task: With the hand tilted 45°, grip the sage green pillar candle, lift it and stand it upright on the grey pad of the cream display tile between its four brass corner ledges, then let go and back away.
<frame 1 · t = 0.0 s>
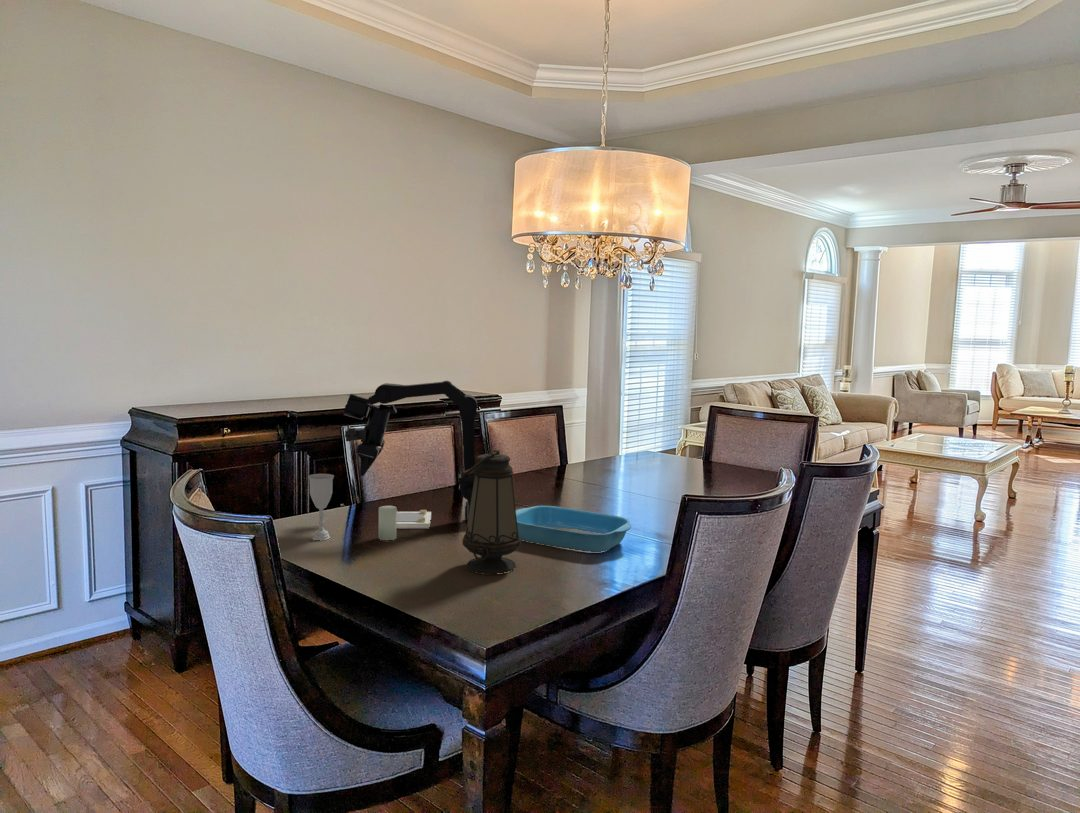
hand: (364, 472, 223), 15 cm above the table, tool pointing down, fingers open, 9 cm apart
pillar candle: (387, 538, 208), on the table
lantern: (491, 567, 187), on the table
display tile: (407, 522, 226), on the table
casserole dish: (568, 542, 211), on the table
chalice: (321, 539, 206), on the table
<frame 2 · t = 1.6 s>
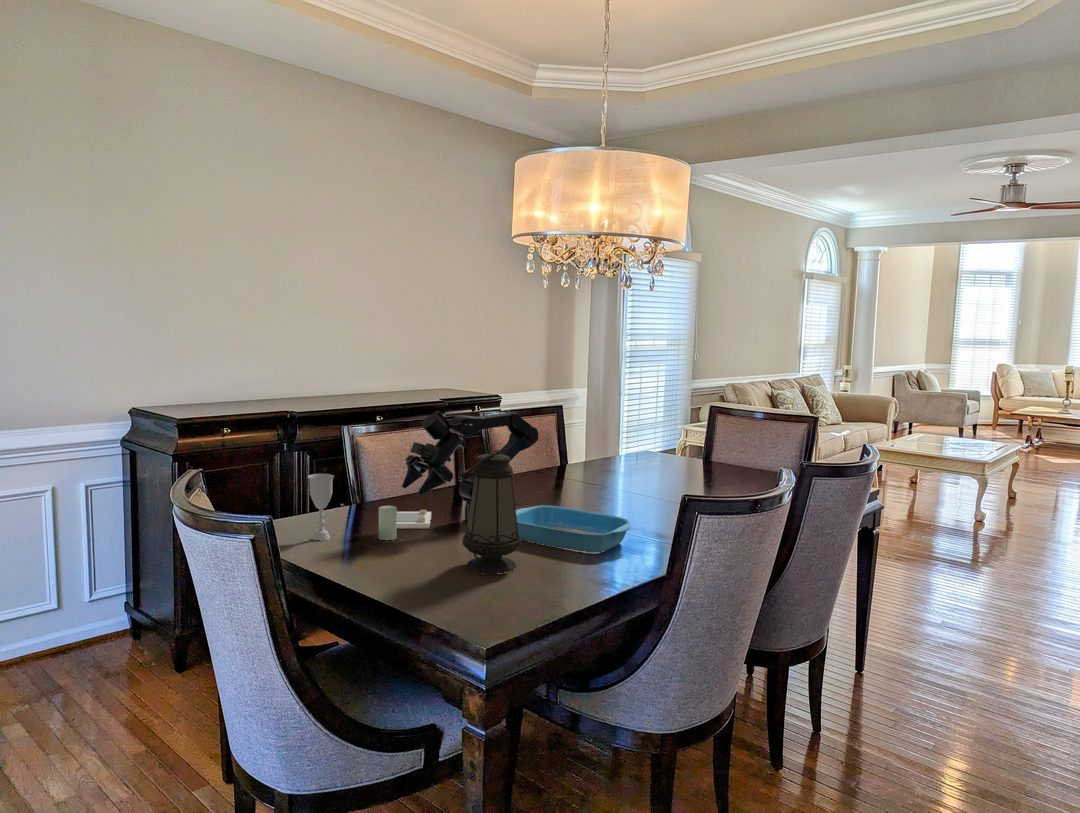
hand: (411, 490, 212), 13 cm above the table, tool tilted 45°, fingers open, 9 cm apart
nothing on the table moved.
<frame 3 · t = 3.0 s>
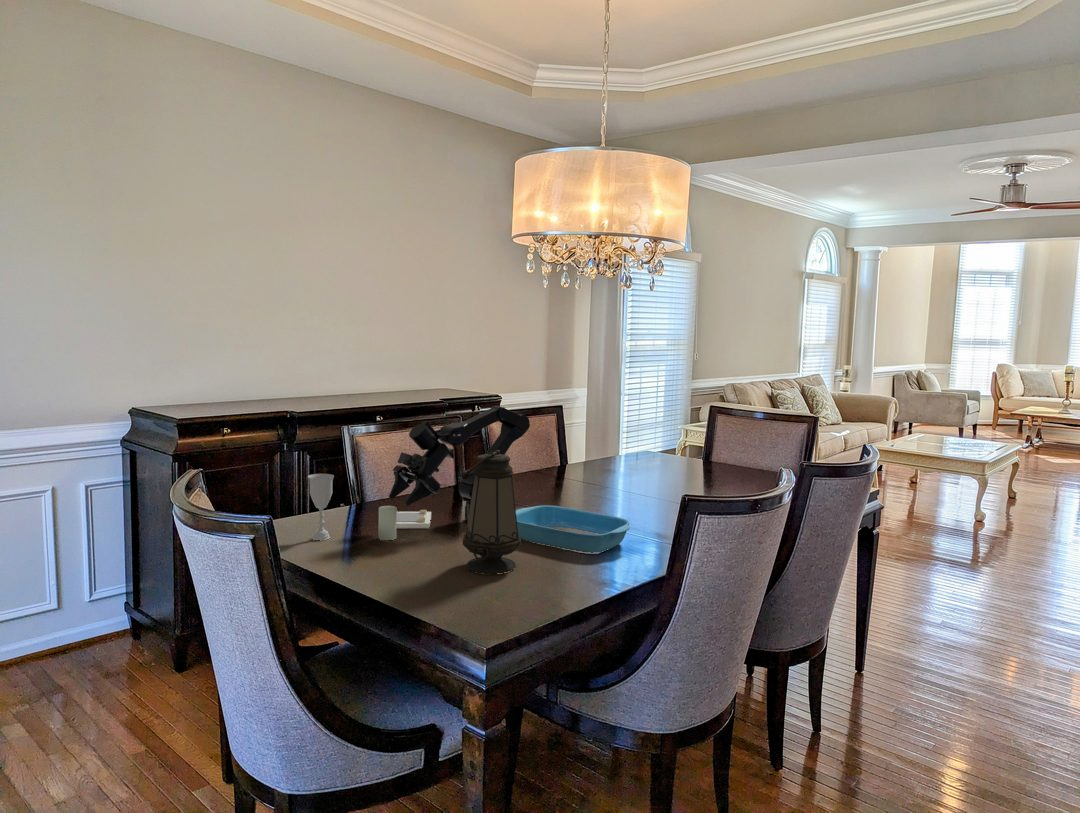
hand: (397, 501, 209), 10 cm above the table, tool tilted 45°, fingers open, 9 cm apart
nothing on the table moved.
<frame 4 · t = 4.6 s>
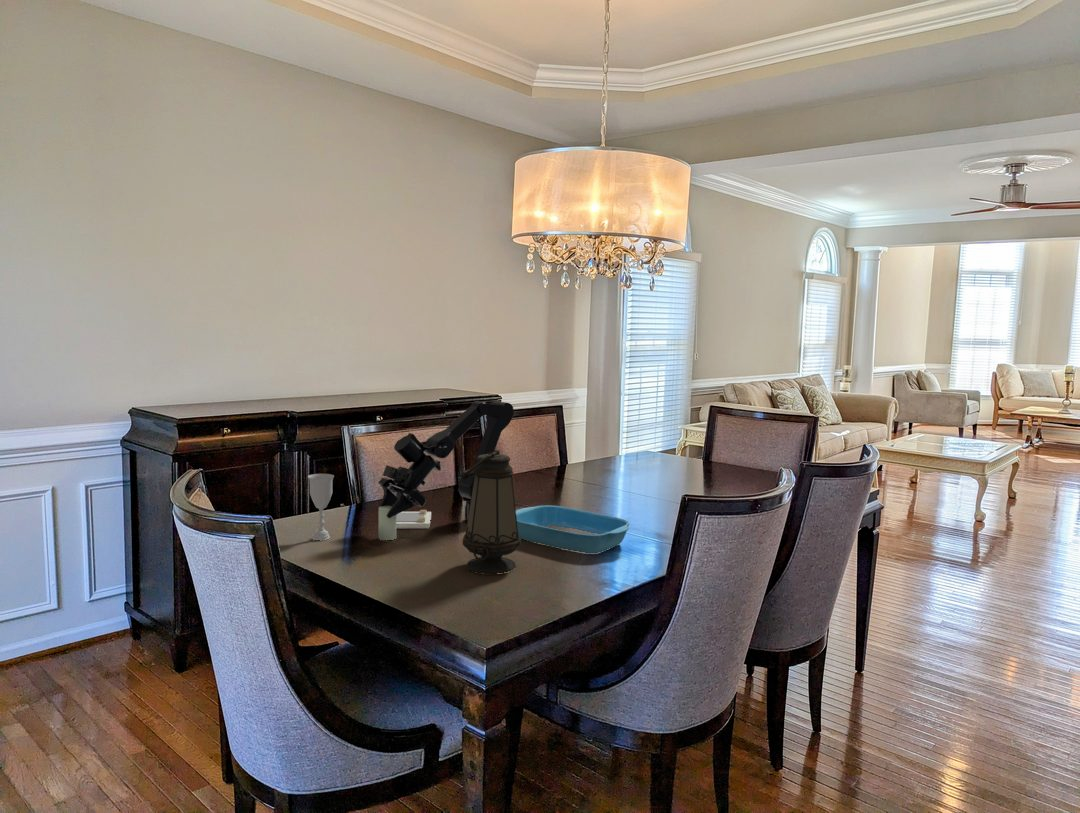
hand: (383, 515, 206), 7 cm above the table, tool tilted 45°, fingers closed on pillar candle, 5 cm apart
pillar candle: (387, 538, 208), on the table, touching gripper
everything else where it was.
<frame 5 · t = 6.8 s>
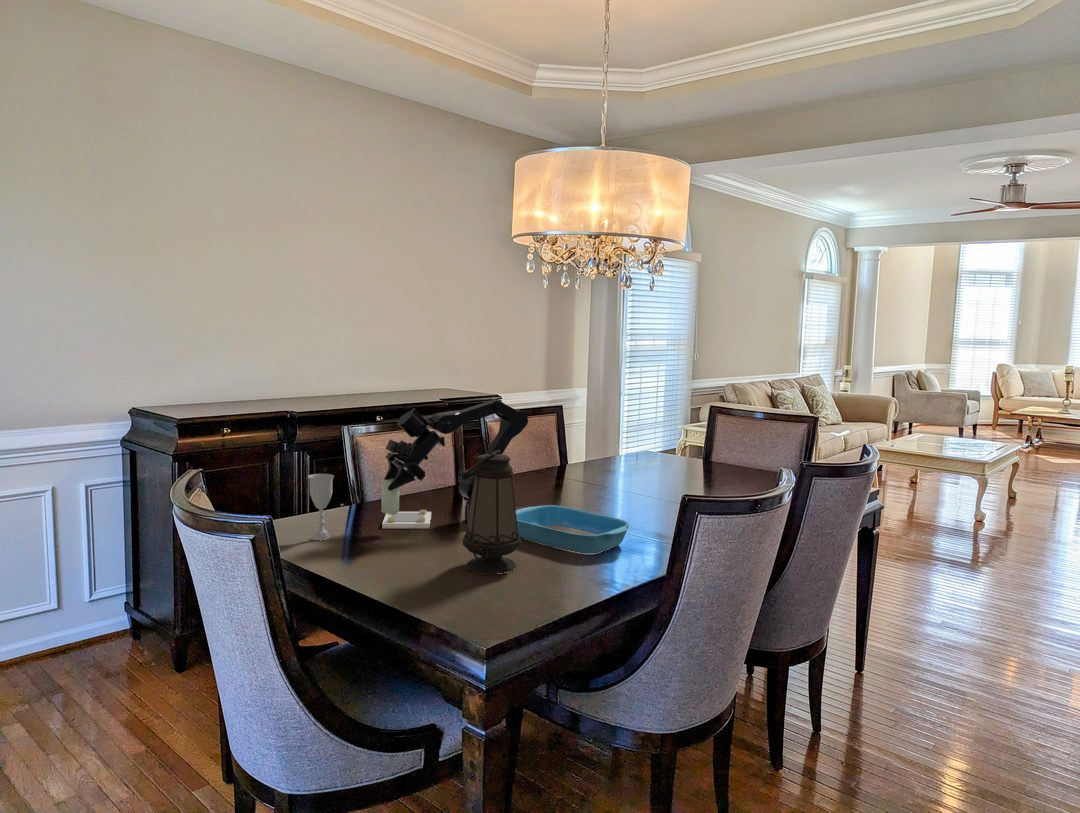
hand: (385, 487, 211), 14 cm above the table, tool tilted 45°, fingers closed on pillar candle, 5 cm apart
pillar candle: (390, 511, 213), point 7 cm above the table, touching gripper
when the fingers open (9 cm above the table, at t = 9.3 s): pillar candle stays where it is, resting on display tile.
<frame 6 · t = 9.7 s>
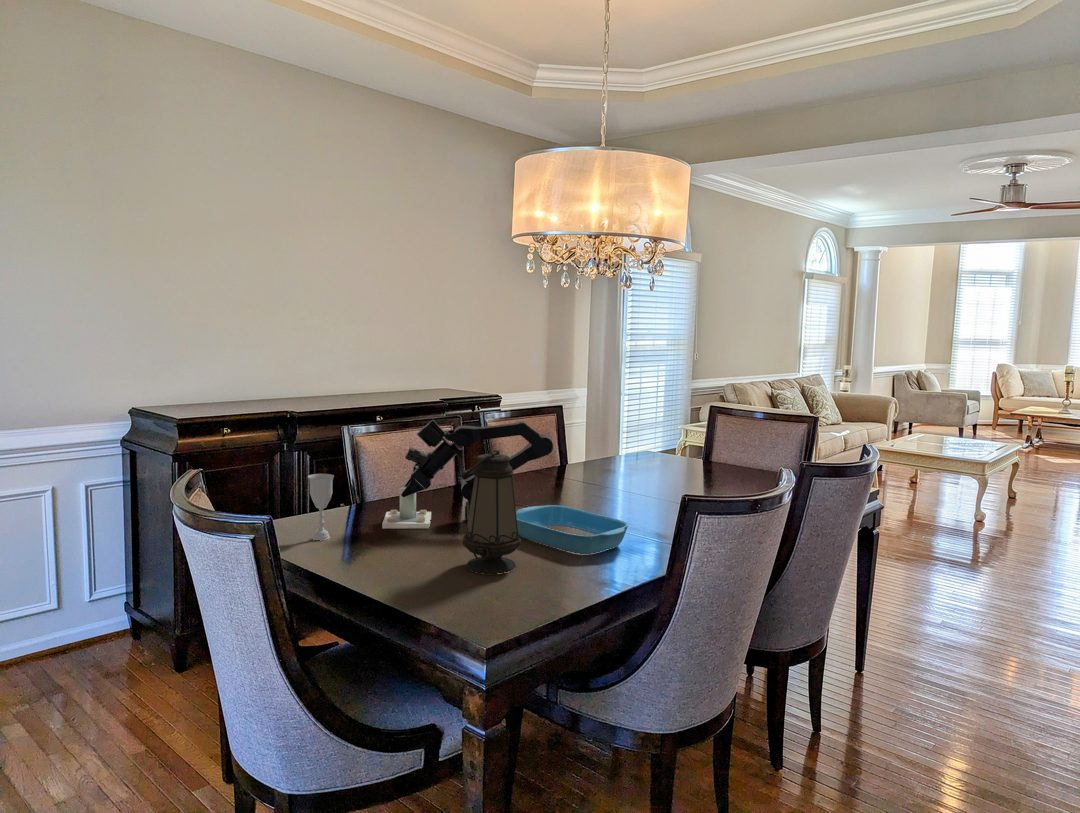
hand: (403, 492, 224), 9 cm above the table, tool tilted 45°, fingers open, 9 cm apart
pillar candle: (407, 516, 225), point 2 cm above the table, touching display tile
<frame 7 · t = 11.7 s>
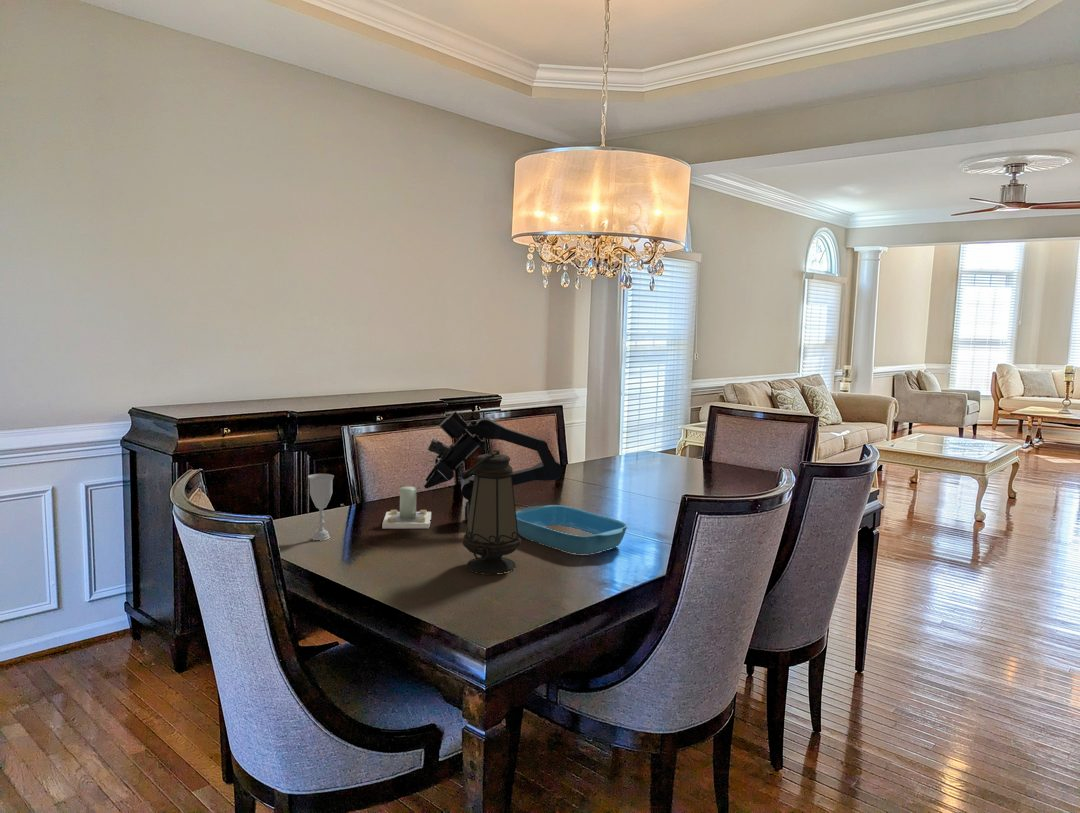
hand: (425, 484, 225), 12 cm above the table, tool tilted 45°, fingers open, 9 cm apart
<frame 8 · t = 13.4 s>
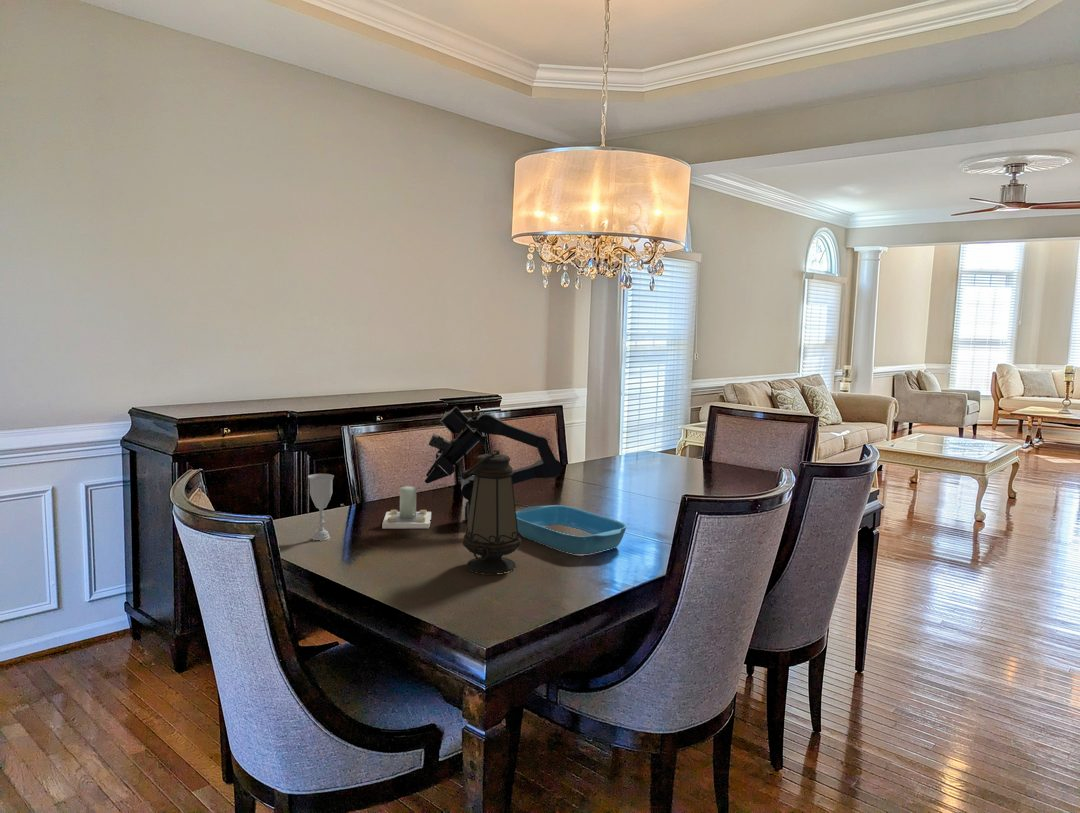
hand: (426, 479, 225), 14 cm above the table, tool tilted 45°, fingers open, 9 cm apart
at the end: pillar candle 0.0 cm off-centre on the display tile, point 1.7 cm above the display tile's base; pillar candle tilted 1°; the gripper is holding nothing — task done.
